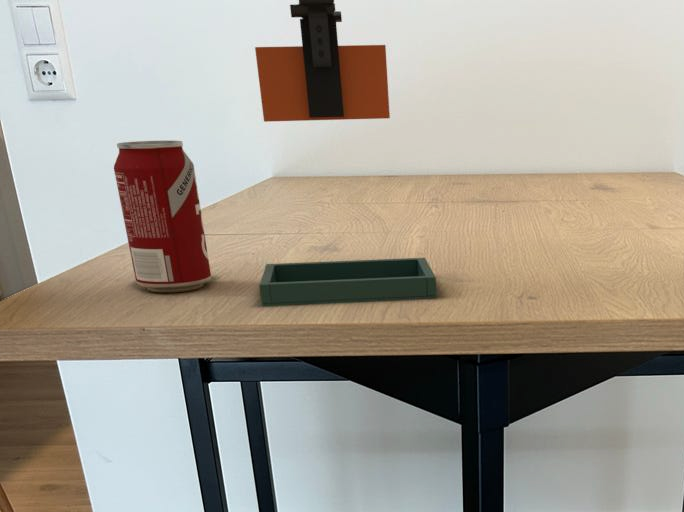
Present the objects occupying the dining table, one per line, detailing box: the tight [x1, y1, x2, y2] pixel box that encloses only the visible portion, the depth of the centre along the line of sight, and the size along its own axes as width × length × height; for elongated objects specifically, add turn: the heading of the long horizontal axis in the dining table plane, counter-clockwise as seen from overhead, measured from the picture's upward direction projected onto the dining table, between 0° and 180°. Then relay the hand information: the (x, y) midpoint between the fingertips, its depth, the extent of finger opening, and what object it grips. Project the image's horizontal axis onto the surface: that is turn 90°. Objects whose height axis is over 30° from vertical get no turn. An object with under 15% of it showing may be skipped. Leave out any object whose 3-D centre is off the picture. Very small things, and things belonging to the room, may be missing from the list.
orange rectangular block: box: [254, 44, 391, 122], centre depth 76 cm, size 10×6×5 cm, turn 98°
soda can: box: [113, 140, 212, 294], centre depth 84 cm, size 7×7×12 cm
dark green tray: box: [258, 257, 437, 307], centre depth 82 cm, size 15×10×2 cm
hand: (326, 114), depth 77 cm, fingers closed on orange rectangular block, 5 cm apart
